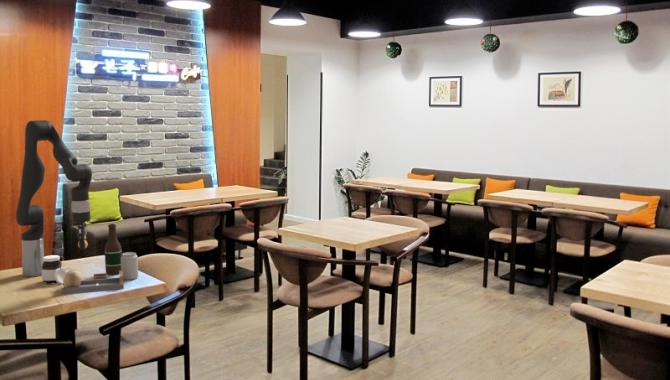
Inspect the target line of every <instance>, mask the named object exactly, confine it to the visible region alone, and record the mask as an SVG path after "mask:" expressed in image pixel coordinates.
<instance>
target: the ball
mask: <svg viewBox="0 0 670 380" xmlns="http://www.w3.org/2000/svg"><path fill="white" fill-rule="evenodd" d="M88 245H89V243H88V241H87V240H86V241H85V249H87V247H88ZM77 246H78V248H79V242H78V243H77Z"/></svg>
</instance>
